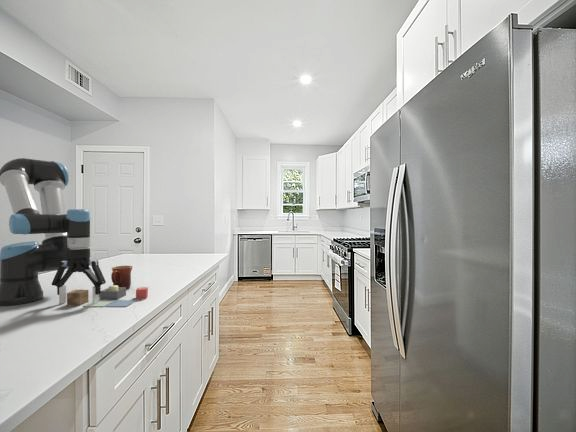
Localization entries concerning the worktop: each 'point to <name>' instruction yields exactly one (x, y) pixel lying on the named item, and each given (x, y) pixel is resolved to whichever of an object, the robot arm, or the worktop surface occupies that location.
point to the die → (142, 293)
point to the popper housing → (113, 294)
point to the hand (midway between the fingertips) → (79, 302)
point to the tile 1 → (99, 303)
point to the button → (113, 288)
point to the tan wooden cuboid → (77, 297)
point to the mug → (121, 276)
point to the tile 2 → (120, 303)
